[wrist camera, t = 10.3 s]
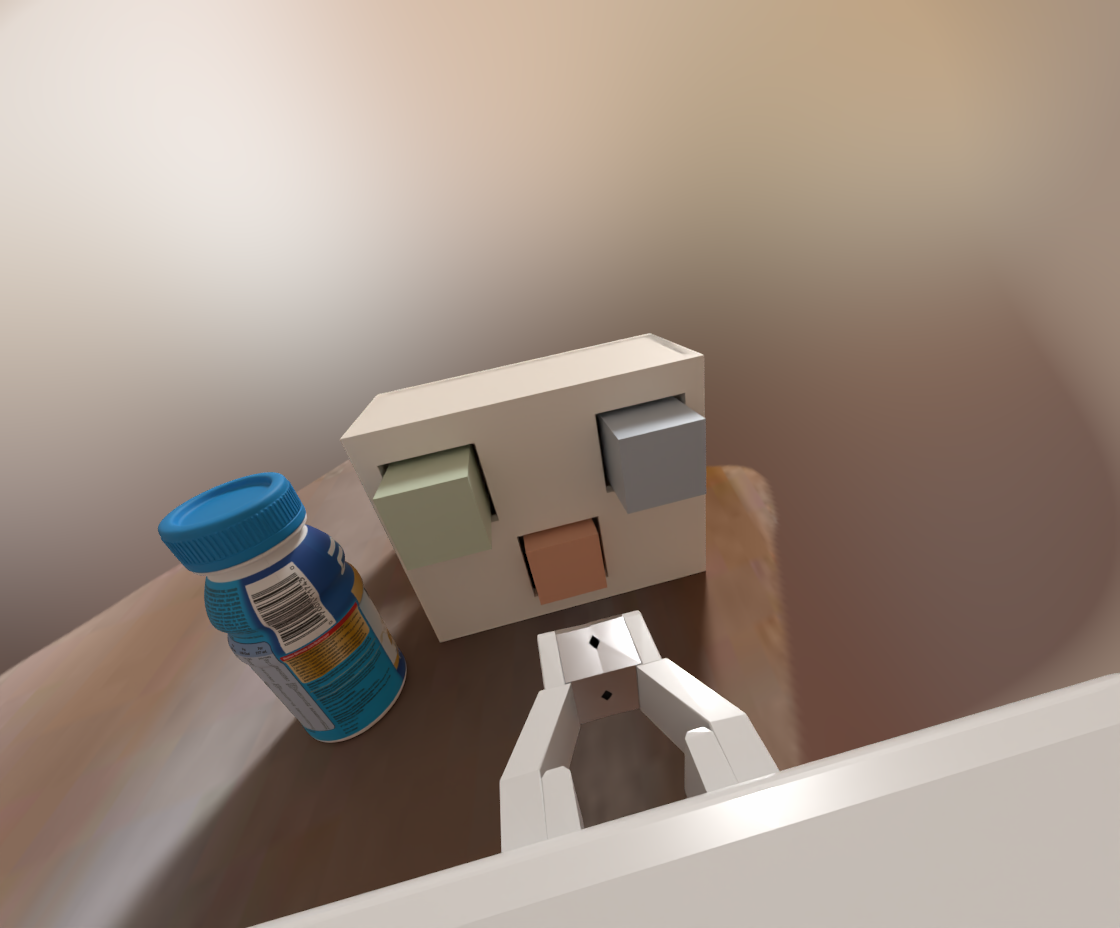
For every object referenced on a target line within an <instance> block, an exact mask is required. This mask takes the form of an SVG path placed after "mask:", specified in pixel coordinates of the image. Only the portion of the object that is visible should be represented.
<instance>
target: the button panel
mask: <svg viewBox="0 0 1120 928" xmlns="http://www.w3.org/2000/svg"><path fill="white" fill-rule="evenodd" d="M670 396H673V397H675V398H676V399H678V400H679V401H681V402H682V403H683V404H685V405H686V406H688V407H689V408H691V409H692V410H694V411H695V412H697V413H698V414H699V415H701V416H702V417H704V418H705V416H704V415H705V412H704V411H705V409H704V355H702V354H700V353H698V352H695V351H693V350H690V349H688V348H685V347H683V346H680V345H678V344H676V343H673V342H671V341H668V340H666V339H663V338H660V337H658V336H656V335H653V334H651V333H649V334H644V335H640V336H635V337H631V338H626V339H622V340H618V341H613V342H609V343H605V344H600V345H595V346H591V347H587V348H582V349H578V350H573V351H569V352H564V353H560V354H556V355H551V356H547V357H542V358H538V359H533V360H529V361H525V362H520V363H516V364H511V365H507V366H502V367H498V368H494V369H489V370H484V371H480V372H476V373H471V374H467V375H462V376H458V377H454V378H449V379H445V380H440V381H436V382H431V383H427V384H423V385H418V386H413V387H409V388H405V389H400V390H396V391H392V392H387V393H383V394H378V395H377V396H376V397H375V398H374V399H373V400H372V401H371V403H370V404H369V405H368V406H367V408H366V409H365V410H364V411H363V412H362V413H361V415H360V416H359V417H358V418H357V419H356V421H355V422H354V423H353V424H352V425H351V427H350V428H349V429H348V430H347V431H346V433H345V434H344V435H343V436H342V437H341V439H340V441H341V443H342V445H343V447H344V449H345V451H346V453H347V455H348V457H349V459H350V461H351V463H352V465H353V467H354V469H355V471H356V473H357V475H358V477H359V479H360V481H361V483H362V485H363V487H364V489H365V491H366V493H367V495H368V497H369V499H370V501H371V504H372V506H373V508H374V510H375V512H376V514H377V516H378V518H379V520H380V522H381V524H382V526H383V528H384V530H385V532H386V534H387V536H388V538H389V540H390V542H391V544H392V546H393V548H394V550H395V552H396V554H397V556H398V558H399V560H400V562H401V564H402V566H403V568H404V570H405V572H406V575H407V577H408V579H409V581H410V583H411V585H412V587H413V589H414V591H415V593H416V595H417V597H418V599H419V601H420V603H421V605H422V607H423V609H424V611H425V613H426V615H427V617H428V619H429V621H430V623H431V625H432V627H433V629H434V631H435V633H436V635H437V637H438V639H439V641H440V643H441V642H444V641H448V640H452V639H455V638H459V637H463V636H466V635H470V634H474V633H478V632H481V631H485V630H489V629H492V628H496V627H500V626H503V625H507V624H511V623H515V622H518V621H522V620H526V619H529V618H533V617H537V616H540V615H544V614H548V613H552V612H555V611H559V610H563V609H566V608H570V607H574V606H577V605H581V604H585V603H589V602H592V601H596V600H600V599H603V598H607V597H611V596H614V595H618V594H622V593H625V592H629V591H633V590H637V589H640V588H644V587H648V586H651V585H655V584H659V583H662V582H666V581H670V580H674V579H677V578H681V577H685V576H688V575H692V574H696V573H699V572H703V571H706V531H705V494H704V495H700V496H696V497H692V498H688V499H685V500H681V501H677V502H673V503H669V504H665V505H661V506H657V507H653V508H649V509H646V510H642V511H638V512H634V513H630V514H627V512H626V510H625V509H624V507H623V505H622V503H621V502H620V500H619V498H618V497H617V495H616V493H615V491H614V490H613V488H612V486H611V484H610V483H609V481H608V479H607V477H606V476H605V470H604V464H603V457H602V450H601V443H600V436H599V430H598V423H597V416H596V414H598V413H602V412H606V411H611V410H615V409H619V408H623V407H627V406H632V405H636V404H640V403H644V402H648V401H653V400H657V399H661V398H665V397H670ZM467 444H472V447H473V450H474V453H475V456H476V459H477V462H478V466H479V469H480V472H481V475H482V478H483V481H484V484H485V487H486V491H487V494H488V497H489V500H490V503H491V533H492V549H490V550H486V551H482V552H478V553H474V554H470V555H466V556H462V557H459V558H455V559H451V560H447V561H443V562H439V563H435V564H431V565H427V566H423V567H420V568H416V569H412V570H408V571H407V569H406V567H405V565H404V563H403V561H402V559H401V557H400V555H399V553H398V551H397V549H396V547H395V544H394V542H393V540H392V538H391V536H390V534H389V532H388V530H387V528H386V526H385V524H384V522H383V520H382V518H381V516H380V514H379V512H378V510H377V508H376V506H375V504H374V501H373V498H374V496H375V494H376V491H377V489H378V487H379V485H380V483H381V481H382V479H383V477H384V475H385V473H386V471H387V469H388V466H389V464H390V463H392V462H396V461H400V460H404V459H408V458H413V457H417V456H421V455H425V454H430V453H434V452H438V451H442V450H446V449H451V448H455V447H459V446H463V445H467ZM589 518H592V520H593V523H594V525H595V527H596V530H597V532H598V533H599V535H600V540H601V546H602V552H603V558H604V564H605V576H606V582H607V588H603V589H599V590H596V591H592V592H588V593H585V594H581V595H577V596H573V597H570V598H566V599H562V600H559V601H555V602H551V603H547V604H544V605H541V603H540V600H539V596H538V593H537V590H536V588H535V589H533V586H532V583H531V579H530V576H529V573H528V569H527V566H526V562H525V559H524V556H523V553H525V552H526V550H525V543H524V537H523V535H526V534H530V533H534V532H538V531H542V530H546V529H550V528H554V527H558V526H561V525H565V524H569V523H573V522H577V521H581V520H585V519H589Z"/></svg>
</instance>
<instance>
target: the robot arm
mask: <svg viewBox="0 0 1120 928" xmlns="http://www.w3.org/2000/svg"><path fill="white" fill-rule="evenodd" d="M555 633H556V634H555ZM537 641H538V648H539V655H540V662H541V669H542V676H543V684H544V690H541V691H539V693H538V695H537V697H536V699H535V702H534V704H533V706H532V709H531V711H530V713H529V716H528V718H527V720H526V722H525V725H524V727H523V729H522V732H521V734H520V736H519V738H518V741H517V743H516V745H515V748H514V750H513V752H512V754H511V757H510V759H509V761H508V764H507V766H506V768H505V770H504V773H503V775H502V777H501V780H500V815H501V853H499V854H496V855H493V856H489V857H486V858H482V859H479V860H476V861H472V862H469V863H465V864H462V865H459V866H455V867H452V868H448V869H445V870H441V871H438V872H435V873H431V874H428V875H424V876H421V877H418V878H414V879H411V880H407V881H404V882H401V883H397V884H394V885H390V886H387V887H384V888H380V889H377V890H373V891H370V892H367V893H363V894H360V895H356V896H353V897H350V898H346V899H343V900H339V901H336V902H333V903H329V904H326V905H322V906H319V907H316V908H312V909H309V910H305V911H302V912H298V913H295V914H292V915H288V916H285V917H281V918H278V919H275V920H271V921H268V922H264V923H261V924H258V925H254V926H251V927H247V928H1120V673H1116V674H1110V675H1106V676H1102V677H1100V678H1096V679H1093V680H1089V681H1086V682H1083V683H1079V684H1076V685H1073V686H1069V687H1066V688H1062V689H1059V690H1055V691H1052V692H1049V693H1045V694H1042V695H1038V696H1035V697H1031V698H1028V699H1025V700H1022V701H1018V702H1014V703H1011V704H1008V705H1005V706H1001V707H997V708H994V709H991V710H987V711H984V712H980V713H977V714H974V715H970V716H967V717H963V718H960V719H956V720H953V721H950V722H946V723H943V724H939V725H936V726H933V727H929V728H926V729H923V730H919V731H916V732H913V733H909V734H905V735H902V736H898V737H895V738H892V739H888V740H885V741H881V742H878V743H875V744H872V745H868V746H864V747H861V748H858V749H854V750H851V751H847V752H844V753H841V754H837V755H834V756H830V757H827V758H824V759H820V760H817V761H813V762H810V763H806V764H803V765H800V766H796V767H793V768H789V769H786V770H783V771H779V769H778V768H777V766H776V764H775V763H774V761H773V759H772V758H771V756H770V754H769V752H768V751H767V749H766V747H765V746H764V744H763V742H762V740H761V739H760V737H759V735H758V734H757V732H756V730H755V729H754V727H753V725H752V723H751V722H750V720H749V718H748V717H747V715H746V714H745V713H744V712H743V711H741V710H740V709H738V708H737V707H736V706H734V705H733V704H731V703H730V702H728V701H727V700H726V699H724V698H723V697H721V696H720V695H719V694H717V693H716V692H714V691H713V690H712V689H710V688H709V687H707V686H706V685H704V684H703V683H702V682H700V681H699V680H697V679H696V678H695V677H693V676H692V675H690V674H689V673H688V672H686V671H685V670H683V669H682V668H681V667H679V666H678V665H676V664H675V663H673V662H672V661H671V660H669V659H668V658H664V659H662V658H661V656H660V654H659V652H658V650H657V647H656V645H655V643H654V641H653V639H652V636H651V634H650V632H649V630H648V628H647V626H646V623H645V621H644V619H643V617H642V615H641V613H640V612H639V611H638V610H637V611H633V612H629V613H625V614H622V615H621V614H619V615H615V616H611V617H608V618H604V619H600V620H596V621H592V622H589V623H587V624H583V625H578V626H574V627H569V628H565V629H560V630H556V631H552V632H547V633H543V634H539V635H537ZM636 709H640V710H641V711H642V712H643V713H644V714H645V715H646V716H647V717H648V718H649V719H650V720H651V721H652V722H653V723H654V724H655V725H656V726H657V727H658V728H659V729H660V730H661V731H662V732H663V733H664V734H665V735H666V736H667V737H668V738H669V739H670V740H671V741H672V742H673V743H674V744H675V745H676V746H677V747H678V748H679V749H680V750H681V751H682V752H683V753H684V754H685V793H686V795H687V799H684V800H680V801H677V802H673V803H670V804H666V805H663V806H660V807H656V808H653V809H649V810H646V811H643V812H639V813H636V814H632V815H629V816H625V817H622V818H619V819H615V820H612V821H608V822H605V823H602V824H598V825H595V826H591V827H588V828H585V829H584V823H583V819H582V815H581V811H580V807H579V803H578V799H577V795H576V791H575V787H574V783H573V779H572V776H571V772H570V770H569V767H570V763H571V760H572V756H573V752H574V749H575V745H576V741H577V738H578V734H579V730H580V724H584V723H587V722H590V721H594V720H597V719H600V718H604V717H607V716H610V715H615V714H619V713H623V712H627V711H631V710H636Z"/></svg>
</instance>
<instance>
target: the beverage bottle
mask: <svg viewBox="0 0 1120 928" xmlns="http://www.w3.org/2000/svg"><path fill="white" fill-rule="evenodd" d="M306 520H307V515H306V511H305V508H304V506H303V504H302V503H301V500H300V499H299V497H298V495H297V494H296V492H295V490H294V489H293V487H292V485H291V484H290V482H289V481H288V480H287V479H286V478H285V477H284V476H283V475H281V474H279V473H273V472H270V473H259V474H254V475H249V476H246V477H242V478H238V479H235V480H232V481H229V482H227V483H224V484H222V485H219V486H216V487H214V488H212V489H210V490H207V491H205V492H203V493H201V494H199V495H197V496H195V497H193V498H191V499H190V500H188V501H186V502H185V503H183V504H181V505H180V506H178V507H177V508H176V509H174V510H173V511H172V512H170V513H169V514H168V515H167V516H166V517H165V518H164V519H163V520H162V521H161V522H160V524H159V526H158V532H159V534H160V536H161V539H162V541H163V542H164V543H165V544H166V546H167V547H168V548H169V549H170V550H171V552H172V553H173V554H174V555H175V556H176V557H177V559H178V560H179V561H180V562H181V563H182V564H183V565H184V566H185V567H186V568H187V569H188V570H189V571H192V572H193V573H194V574H196V575H200V576H206V581H205V591H204V599H205V607H206V611H207V615H208V618H209V620H210V622H211V623H212V625H213V626H214V627H215V628H216V629H218V630H220V631H222V632H225V633H228V643H229V646H230V648H231V649H232V651H233V652H234V654H235V655H236V656H237V657H238V658H239V659H240V660H241V661H242V662H244V663H246V664H248V665H249V666H250V667H251V668H252V669H253V670H254V671H255V673H256V674H257V675H258V676H259V677H260V678H261V679H262V680H263V681H264V683H265V684H266V685H267V686H268V687H269V688H270V689H271V690H272V691H273V692H274V694H275V695H276V696H277V697H278V698H279V699H280V700H281V701H282V702H283V704H284V705H285V706H286V707H287V708H288V709H289V710H290V711H291V713H292V714H293V715H294V716H295V717H296V718H297V719H298V720H299V722H300V723H301V724H302V726H303V727H304V729H305V730H306V731H307V732H308V733H309V735H310V736H312V737H313V738H314V739H316V740H318V741H321V742H327V743H334V742H341V741H345V740H348V739H351V738H353V737H355V736H357V735H359V734H361V733H363V732H364V731H366V730H368V729H369V728H370V727H372V726H373V725H374V724H376V723H377V722H378V721H379V720H380V719H381V718H382V717H383V716H384V715H385V714H386V713H387V712H388V711H389V710H390V708H391V707H392V706H393V704H394V703H395V701H396V700H397V698H398V697H399V695H400V693H401V691H402V688H403V686H404V683H405V679H406V672H407V667H406V661H405V658H404V656H403V654H402V652H401V651H400V649H399V648H398V646H397V645H396V643H395V641H394V640H393V638H392V636H391V634H390V633H389V631H388V629H387V627H386V626H385V624H384V622H383V620H382V618H381V617H380V615H379V613H378V611H377V609H376V608H375V606H374V604H373V602H372V600H371V599H370V597H369V595H368V593H367V591H366V590H365V588H364V584H363V581H362V578H361V576H360V575H359V573H358V571H357V570H356V569H355V568H354V567H353V566H352V565H351V564H350V563H348V562H346V561H345V554H344V551H343V549H342V547H341V546H340V545H339V543H338V542H336V541H335V540H334V539H333V538H332V537H330V536H329V535H328V534H326V533H324V532H322V531H320V530H318V529H316V528H314V527H312V526H309V525H306V524H305V523H306Z"/></svg>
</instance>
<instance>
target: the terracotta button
mask: <svg viewBox="0 0 1120 928" xmlns="http://www.w3.org/2000/svg"><path fill="white" fill-rule="evenodd" d="M523 537H524V543H525V550H526V555H527V558H528V562H529V565H530V569H531V572H532V576H533V579H534V583H535V586H536V590H537V593H538V596H539V600H540V603H541V605H544V604H547V603H551V602H555V601H559V600H562V599H566V598H570V597H573V596H577V595H581V594H585V593H588V592H592V591H596V590H599V589H603V588H607V582H606V576H605V570H604V564H603V559H602V553H601V547H600V541H599V535H598V532H597V530H596V527H595V525H594V523H593V520H592V518H589V519H585V520H581V521H577V522H573V523H569V524H565V525H561V526H558V527H554V528H550V529H546V530H542V531H538V532H534V533H530V534H526V535H523Z"/></svg>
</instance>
